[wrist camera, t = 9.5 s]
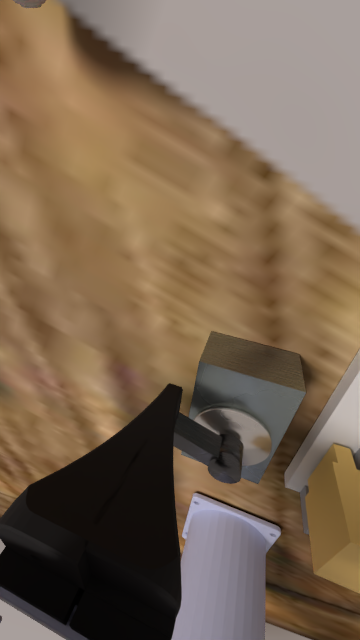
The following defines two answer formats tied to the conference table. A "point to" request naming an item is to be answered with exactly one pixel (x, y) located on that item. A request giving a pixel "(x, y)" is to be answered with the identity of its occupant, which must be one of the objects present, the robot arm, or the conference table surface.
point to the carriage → (335, 518)
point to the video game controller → (30, 3)
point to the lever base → (247, 396)
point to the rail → (329, 434)
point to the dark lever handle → (210, 449)
